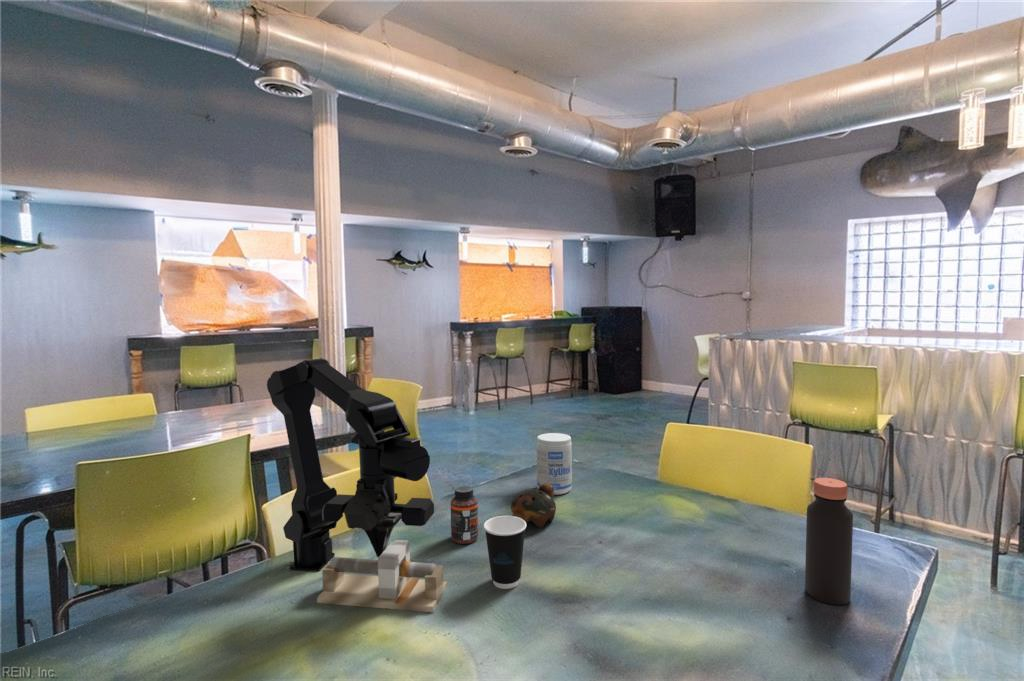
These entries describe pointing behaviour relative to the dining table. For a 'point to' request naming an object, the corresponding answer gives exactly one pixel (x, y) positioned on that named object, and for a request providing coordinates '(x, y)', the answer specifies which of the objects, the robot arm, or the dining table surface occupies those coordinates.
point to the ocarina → (535, 505)
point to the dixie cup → (505, 549)
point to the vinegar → (829, 543)
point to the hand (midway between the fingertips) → (380, 556)
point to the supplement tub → (554, 461)
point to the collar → (392, 569)
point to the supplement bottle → (464, 516)
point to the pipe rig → (366, 587)
